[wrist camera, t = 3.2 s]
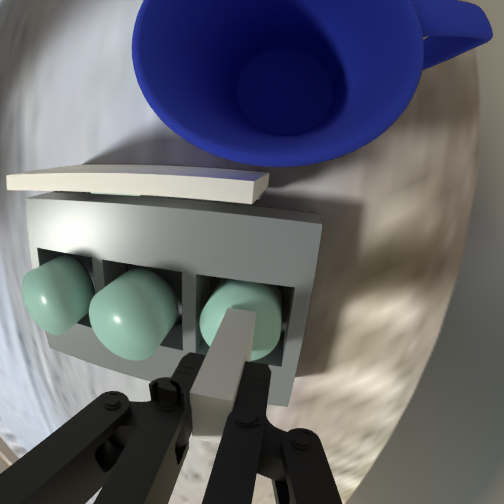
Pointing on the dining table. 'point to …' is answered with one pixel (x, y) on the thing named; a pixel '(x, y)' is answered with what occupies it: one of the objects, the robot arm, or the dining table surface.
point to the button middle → (134, 314)
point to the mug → (292, 70)
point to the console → (180, 266)
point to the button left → (58, 294)
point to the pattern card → (147, 181)
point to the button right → (246, 298)
